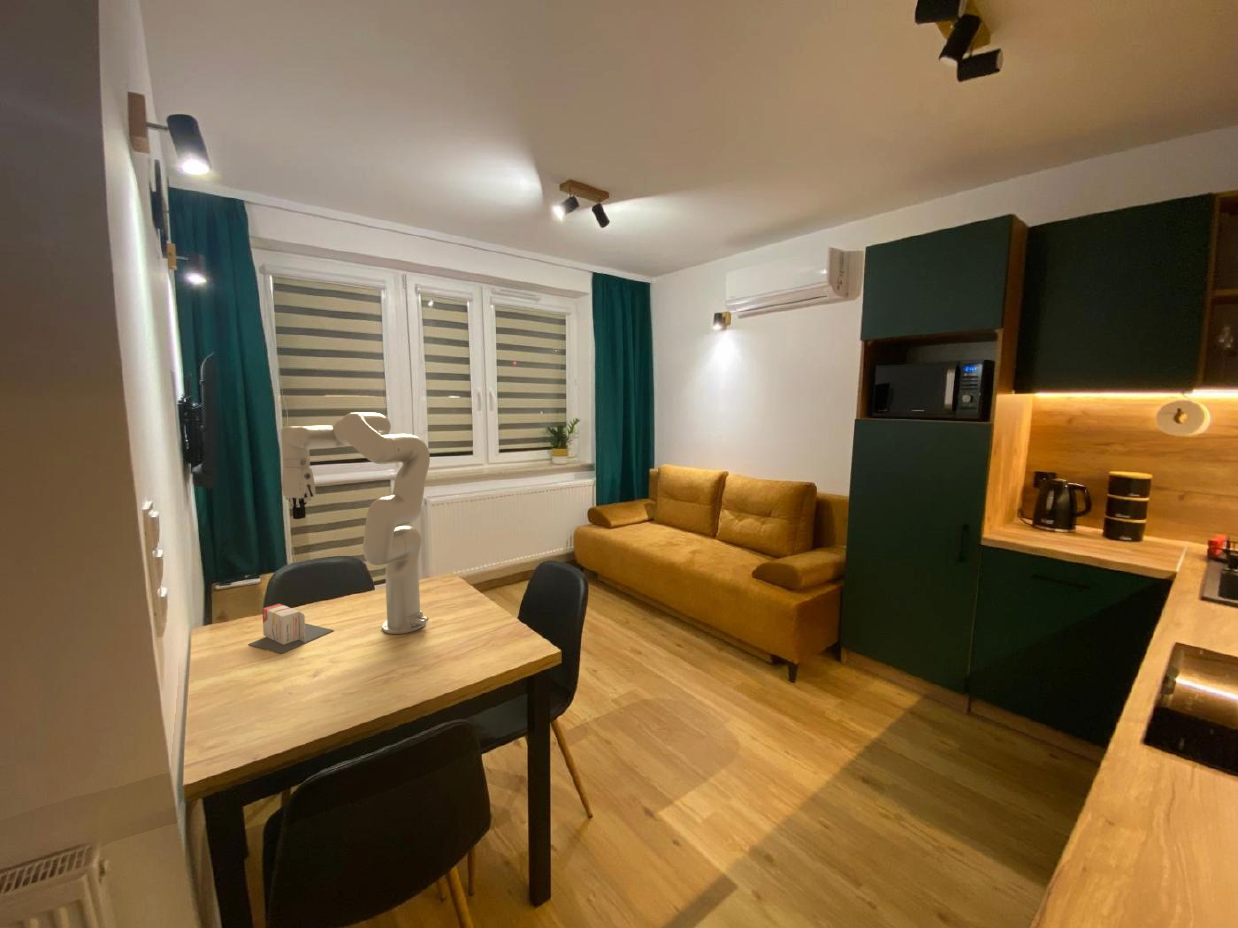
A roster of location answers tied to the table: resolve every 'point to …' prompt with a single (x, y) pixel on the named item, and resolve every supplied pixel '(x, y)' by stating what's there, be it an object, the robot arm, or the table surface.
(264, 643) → the mat
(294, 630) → the ink cartridge box
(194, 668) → the table surface
